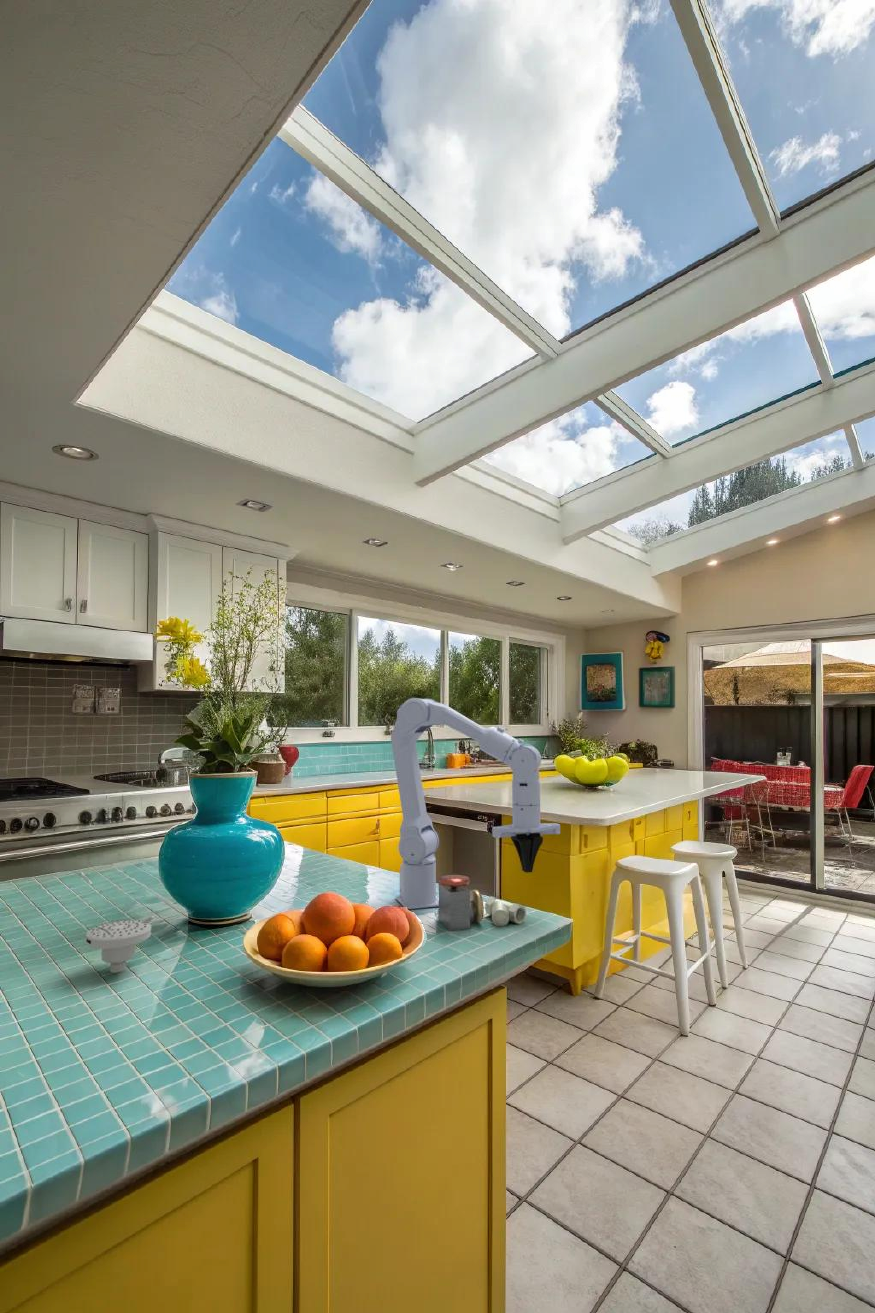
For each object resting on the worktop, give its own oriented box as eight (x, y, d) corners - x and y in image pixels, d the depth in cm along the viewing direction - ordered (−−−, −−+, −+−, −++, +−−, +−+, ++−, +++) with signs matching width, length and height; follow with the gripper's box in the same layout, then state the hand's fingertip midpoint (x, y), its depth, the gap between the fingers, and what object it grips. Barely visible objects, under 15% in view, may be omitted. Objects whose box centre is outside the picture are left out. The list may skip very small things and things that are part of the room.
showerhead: (165, 922, 107) (100, 937, 100) (163, 968, 106) (98, 987, 99) (140, 910, 113) (77, 924, 106) (138, 954, 113) (75, 970, 105)
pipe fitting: (503, 932, 125) (526, 922, 129) (502, 911, 125) (525, 902, 130) (473, 922, 131) (497, 913, 135) (472, 902, 131) (495, 894, 136)
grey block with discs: (433, 920, 130) (433, 875, 131) (471, 916, 133) (471, 872, 134) (445, 931, 124) (445, 884, 125) (484, 926, 126) (484, 880, 127)
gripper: (501, 808, 130) (502, 878, 129) (567, 805, 135) (568, 873, 134) (488, 803, 137) (488, 870, 136) (550, 800, 142) (551, 865, 140)
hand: (527, 871), depth 135 cm, fingers closed
